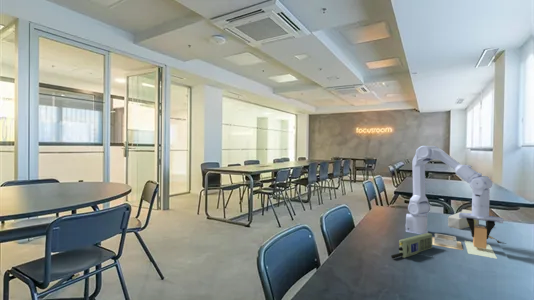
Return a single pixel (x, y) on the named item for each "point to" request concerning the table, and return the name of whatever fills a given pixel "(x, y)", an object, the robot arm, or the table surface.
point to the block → (460, 220)
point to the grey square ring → (445, 240)
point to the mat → (480, 250)
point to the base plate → (448, 246)
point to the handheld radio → (414, 245)
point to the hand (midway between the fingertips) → (479, 237)
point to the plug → (480, 237)
